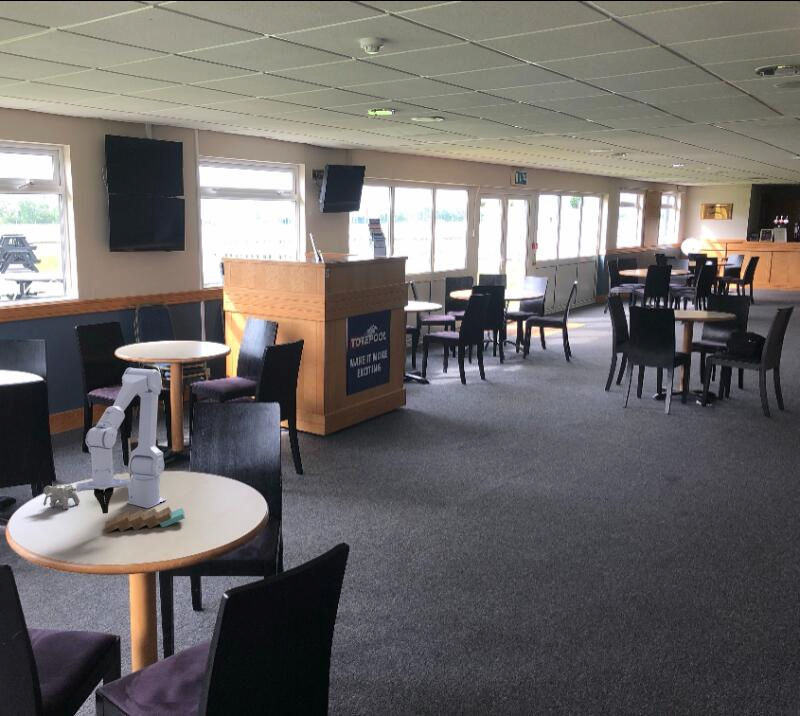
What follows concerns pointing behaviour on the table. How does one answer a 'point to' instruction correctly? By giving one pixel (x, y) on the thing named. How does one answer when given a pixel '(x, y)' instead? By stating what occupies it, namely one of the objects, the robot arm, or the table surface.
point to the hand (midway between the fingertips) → (105, 512)
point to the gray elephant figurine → (61, 495)
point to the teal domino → (174, 517)
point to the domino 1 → (117, 522)
